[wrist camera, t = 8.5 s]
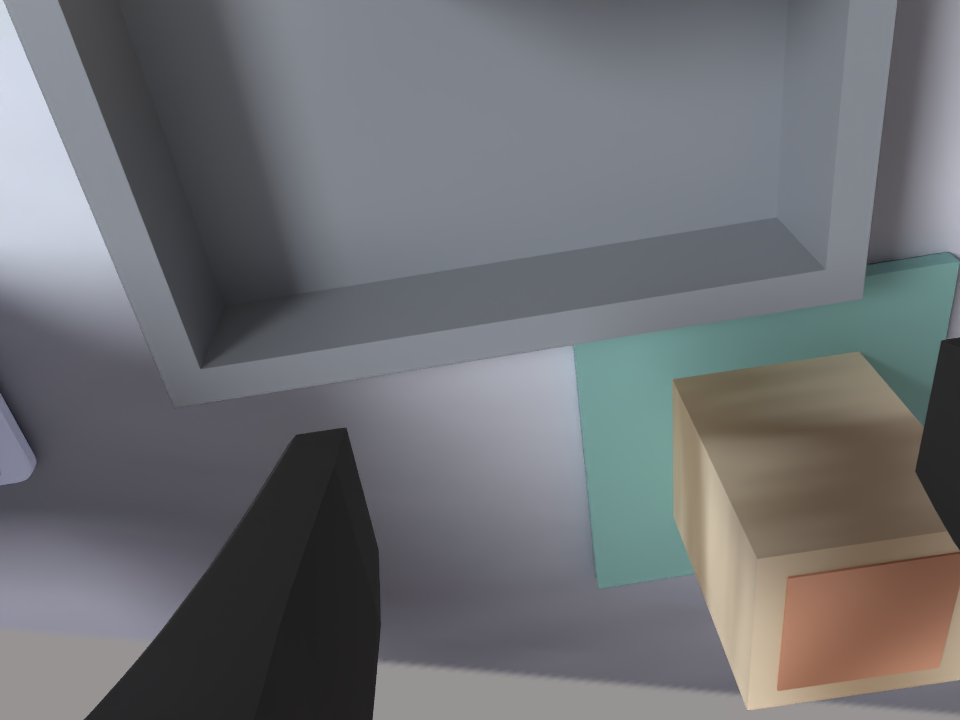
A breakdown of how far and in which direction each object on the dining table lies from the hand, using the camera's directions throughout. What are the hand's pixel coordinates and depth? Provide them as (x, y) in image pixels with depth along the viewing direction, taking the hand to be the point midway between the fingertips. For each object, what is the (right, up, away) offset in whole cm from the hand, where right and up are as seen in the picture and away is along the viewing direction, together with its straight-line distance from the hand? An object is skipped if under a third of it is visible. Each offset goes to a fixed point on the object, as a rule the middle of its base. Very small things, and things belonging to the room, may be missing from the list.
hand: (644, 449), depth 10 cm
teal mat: (+5, -1, +12) cm, 13 cm away
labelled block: (+5, -1, +12) cm, 13 cm away
